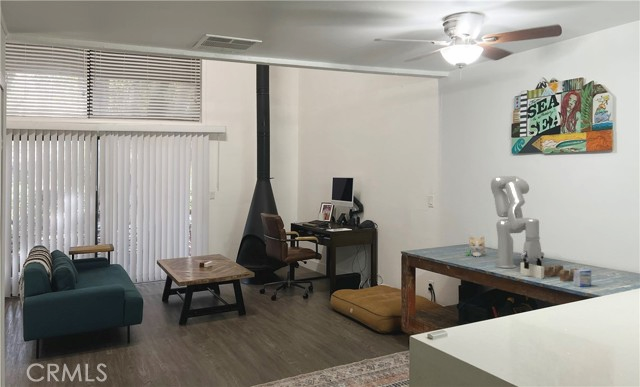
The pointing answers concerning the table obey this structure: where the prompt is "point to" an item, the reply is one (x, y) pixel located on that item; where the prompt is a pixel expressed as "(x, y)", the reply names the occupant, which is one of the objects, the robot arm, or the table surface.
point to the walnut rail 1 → (553, 271)
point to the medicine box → (582, 278)
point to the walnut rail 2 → (567, 275)
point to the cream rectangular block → (533, 271)
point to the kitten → (476, 246)
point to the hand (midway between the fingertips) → (532, 268)
